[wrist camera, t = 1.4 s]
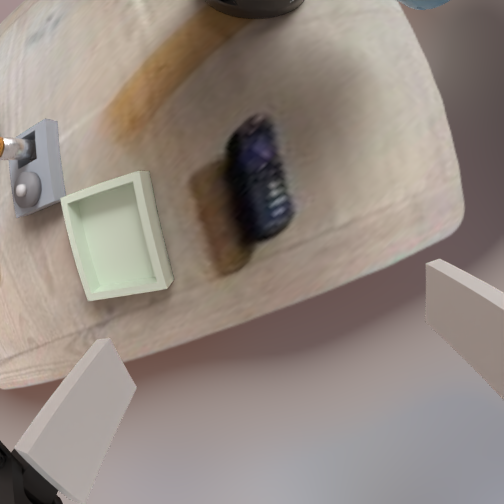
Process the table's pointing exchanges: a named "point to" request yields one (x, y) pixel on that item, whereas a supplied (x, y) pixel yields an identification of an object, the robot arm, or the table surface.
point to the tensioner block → (38, 171)
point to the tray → (117, 237)
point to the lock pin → (17, 149)
